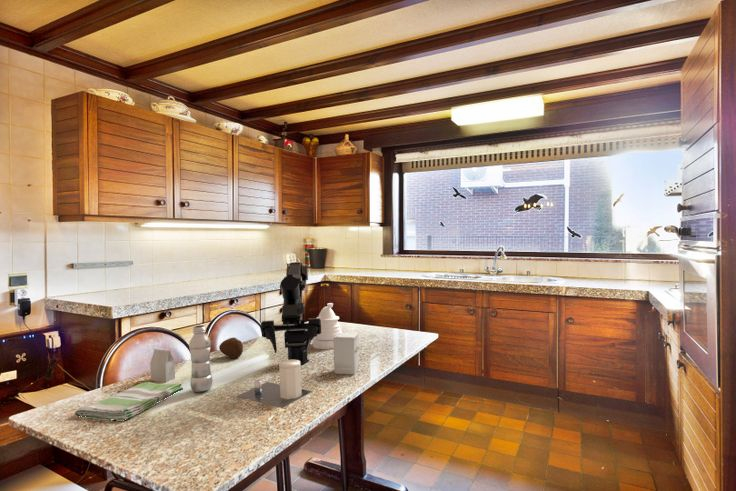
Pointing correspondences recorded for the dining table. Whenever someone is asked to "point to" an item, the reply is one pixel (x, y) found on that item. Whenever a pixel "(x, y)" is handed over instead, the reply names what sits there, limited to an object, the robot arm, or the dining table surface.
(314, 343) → the honey pot
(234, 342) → the potato
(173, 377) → the grey gabled carton
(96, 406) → the dish towel
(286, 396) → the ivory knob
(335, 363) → the supplement box
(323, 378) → the dining table surface
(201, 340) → the plastic bottle
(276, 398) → the plate
